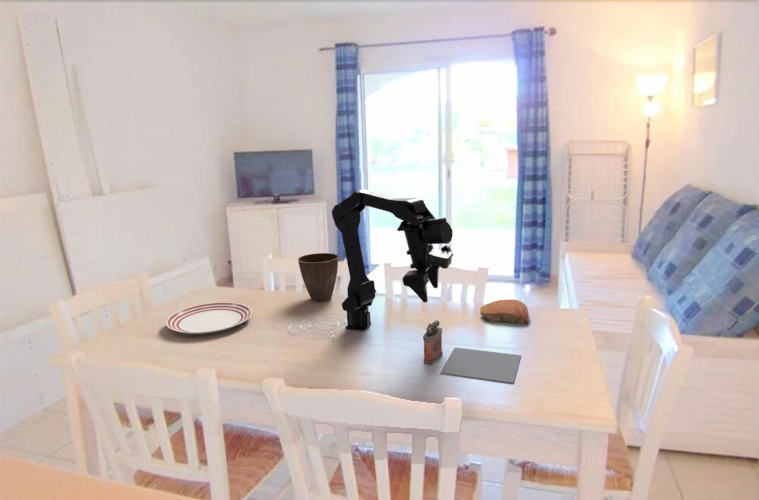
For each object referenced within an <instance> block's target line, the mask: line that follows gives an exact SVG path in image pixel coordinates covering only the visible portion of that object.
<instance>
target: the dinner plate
mask: <svg viewBox="0 0 759 500" xmlns="http://www.w3.org/2000/svg"><path fill="white" fill-rule="evenodd" d="M252 316H253V309H252V308H251V307H250V306H249V305H246V304H245V303H239V302H234V301H233V302H232V301H213V302H206V303H201V304H196V305H195V304H194V305H192V306H188V307H185V308H182V309H179V310H178V311H176V312H174V313H171V315H169V316H168V317H167V319H166V320H165V325H166V327H167V328H168V329H169V330H172V331H175V332H178V333H182V334H187V335H188V334H190V335H207V334H206V333H210V334H215V333H214V332H216V333H219V331H220V332H223V330H224V331H226V329H227V330H229V329H232V328H235V327H237V326H239V325H241V324H243V323H245V322H246V321H248V320H249V319H250V318H251V317H252Z"/></svg>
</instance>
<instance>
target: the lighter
mask: <svg viewBox="0 0 759 500" xmlns="http://www.w3.org/2000/svg"><path fill="white" fill-rule="evenodd" d="M439 326H440V321H439V319H436V320H435V321H433V322H432V323H428V325H427V326H426V331H425V333H424V334H423V336H422V339H423V357H424V358H423V364H424V365H426V366H427V365H429V366H431V365H433V364H436V363H437V362H439V360H440V359H441V358H442V356H443V349H442V348H443V345H442V344H443V341H442V339H443V337H442V336H443V328H442V327H439Z"/></svg>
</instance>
